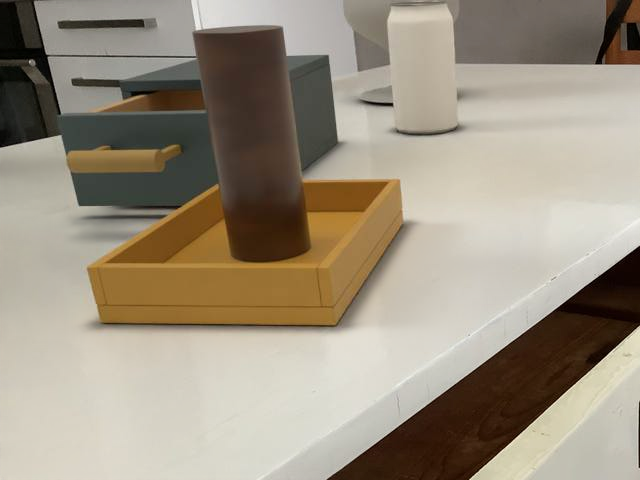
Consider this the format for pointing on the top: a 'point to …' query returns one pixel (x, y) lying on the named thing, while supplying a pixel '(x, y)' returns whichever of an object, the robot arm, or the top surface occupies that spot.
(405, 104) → the can
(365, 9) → the chalice
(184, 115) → the drawer
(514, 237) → the top surface
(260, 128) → the brown cylinder
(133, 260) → the tray
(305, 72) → the cabinet
